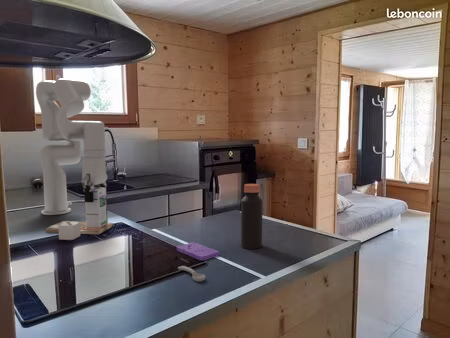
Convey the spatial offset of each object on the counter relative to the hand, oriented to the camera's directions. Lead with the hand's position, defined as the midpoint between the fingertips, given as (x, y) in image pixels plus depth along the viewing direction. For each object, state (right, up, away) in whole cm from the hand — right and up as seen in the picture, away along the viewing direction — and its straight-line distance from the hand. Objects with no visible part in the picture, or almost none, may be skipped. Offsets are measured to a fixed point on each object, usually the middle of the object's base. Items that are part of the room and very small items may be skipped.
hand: (96, 199), depth 134 cm
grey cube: (-6, -13, -9) cm, 17 cm away
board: (-7, -11, +2) cm, 13 cm away
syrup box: (0, -10, +1) cm, 10 cm away
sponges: (+40, -15, -26) cm, 50 cm away
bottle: (+57, -14, -20) cm, 62 cm away
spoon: (+40, -16, -43) cm, 61 cm away
